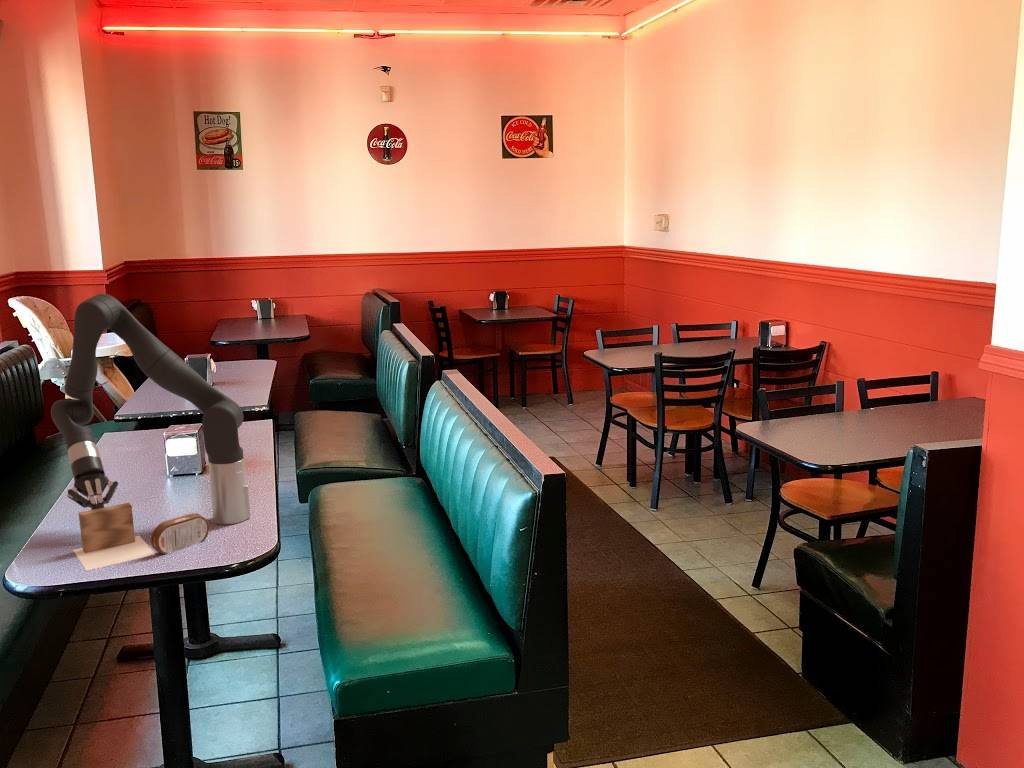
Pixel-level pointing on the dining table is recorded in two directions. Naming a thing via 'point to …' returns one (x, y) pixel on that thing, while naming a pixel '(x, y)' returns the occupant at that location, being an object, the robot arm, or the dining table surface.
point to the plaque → (106, 527)
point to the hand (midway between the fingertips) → (100, 518)
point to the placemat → (114, 554)
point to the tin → (179, 533)
